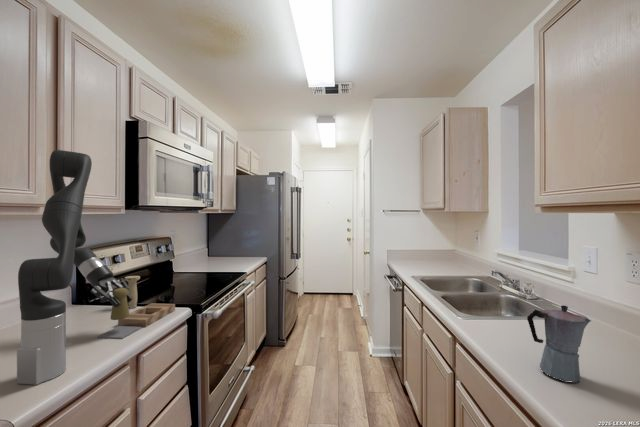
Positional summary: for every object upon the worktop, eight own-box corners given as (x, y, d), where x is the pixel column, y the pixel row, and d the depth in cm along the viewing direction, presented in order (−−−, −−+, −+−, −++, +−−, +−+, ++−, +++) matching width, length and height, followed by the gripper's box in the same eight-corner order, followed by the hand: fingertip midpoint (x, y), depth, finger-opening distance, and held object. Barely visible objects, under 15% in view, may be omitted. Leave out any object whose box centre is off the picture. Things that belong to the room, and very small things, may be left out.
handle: (129, 305, 143) (129, 275, 143) (142, 305, 143) (142, 275, 143) (122, 309, 138) (122, 278, 138) (136, 309, 138) (136, 277, 138)
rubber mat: (122, 338, 106) (122, 337, 106) (97, 337, 106) (97, 336, 106) (141, 328, 116) (141, 326, 116) (118, 327, 116) (118, 325, 116)
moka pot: (602, 388, 76) (603, 312, 76) (538, 382, 79) (538, 309, 79) (576, 368, 86) (577, 301, 85) (519, 364, 88) (520, 298, 88)
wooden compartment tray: (145, 327, 116) (145, 319, 116) (118, 326, 117) (118, 318, 117) (175, 310, 136) (175, 304, 136) (151, 309, 137) (151, 303, 137)
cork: (107, 320, 107) (107, 291, 107) (114, 314, 113) (114, 287, 113) (126, 319, 109) (126, 290, 109) (131, 313, 115) (131, 286, 115)
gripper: (85, 268, 104) (116, 302, 103) (116, 261, 119) (144, 291, 118) (72, 282, 105) (102, 316, 104) (105, 274, 119) (132, 304, 118)
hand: (124, 303), depth 111 cm, fingers closed on cork, 5 cm apart
